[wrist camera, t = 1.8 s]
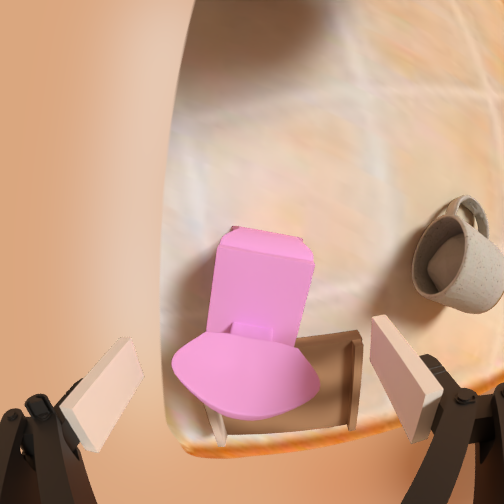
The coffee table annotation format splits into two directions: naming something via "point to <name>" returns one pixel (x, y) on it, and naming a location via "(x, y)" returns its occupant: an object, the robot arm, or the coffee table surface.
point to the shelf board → (325, 401)
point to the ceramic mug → (459, 261)
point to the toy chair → (252, 329)
